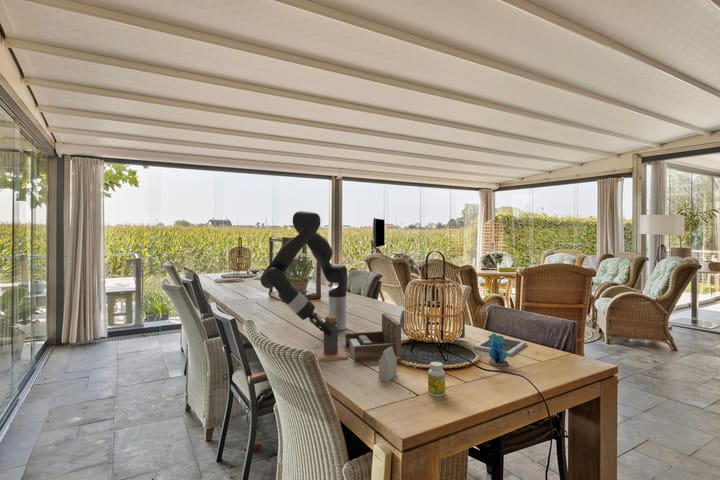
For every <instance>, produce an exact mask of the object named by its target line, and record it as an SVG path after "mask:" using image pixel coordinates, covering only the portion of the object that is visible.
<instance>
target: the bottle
mask: <svg viewBox="0 0 720 480" xmlns="http://www.w3.org/2000/svg"><path fill="white" fill-rule="evenodd" d="M324 319H325V321H324V323H325V324H326V327H327V328H328V329H329V330H330V331H331V332H332V334H331V335H330V336H327V335H326V334H325V333H324V332H323V349H324V354H327V355H334V354H337V353H338V348H339V347H338V346H339V343H338V342H339V335H338V334H339V333H338V332H339V330H338V327H337V326H335V324H337V321H336V316H329V315H327V316H325V317H324Z"/></svg>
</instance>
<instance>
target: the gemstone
mask: <svg viewBox="0 0 720 480" xmlns="http://www.w3.org/2000/svg"><path fill="white" fill-rule="evenodd" d="M491 335H492V339H491V344H490V345H491V348H492V349H491V348H490V350H489V352H488V356H489V357H490V358H489V359H488V364H490V365H491V366H494V367H499V368H502V367H507V366H508V365H509V362H508V361H507V360H506V358H507V356H506V352H505V350H504V351H503V346H504V341H503V340H502V339H501V338H500V337H498V336H499V335H498V336H497V334H496V333H495V332H492V334H491ZM502 351H503V352H502Z"/></svg>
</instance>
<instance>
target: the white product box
mask: <svg viewBox="0 0 720 480" xmlns="http://www.w3.org/2000/svg"><path fill="white" fill-rule="evenodd" d="M397 360H398V359H397V358H396V356H395V353H394V351H393V347H390V348H388V349H386V350H385V351H383V354H382V357H381V359H380V360H378V379H379V380H383V381H386V382H389V381H390V380H392V379H393V378H394V377H395V376H397V375H398V374H397V372H398V371H397V367H398V366H397V363H398V362H397Z"/></svg>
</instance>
